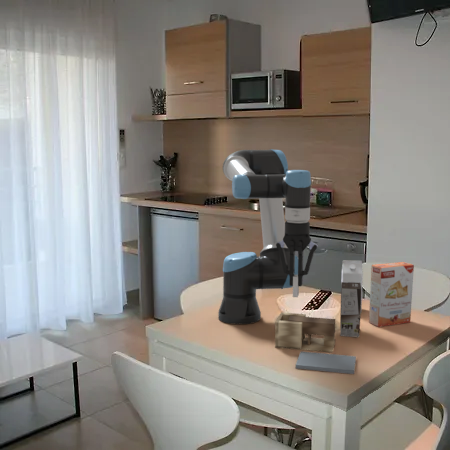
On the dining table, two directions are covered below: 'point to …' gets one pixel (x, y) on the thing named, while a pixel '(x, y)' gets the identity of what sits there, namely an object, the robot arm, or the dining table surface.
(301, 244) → the robot arm
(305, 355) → the mat
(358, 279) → the milk carton
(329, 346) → the holder
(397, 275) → the cracker box
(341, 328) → the coffee box
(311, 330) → the bar
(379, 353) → the dining table surface
